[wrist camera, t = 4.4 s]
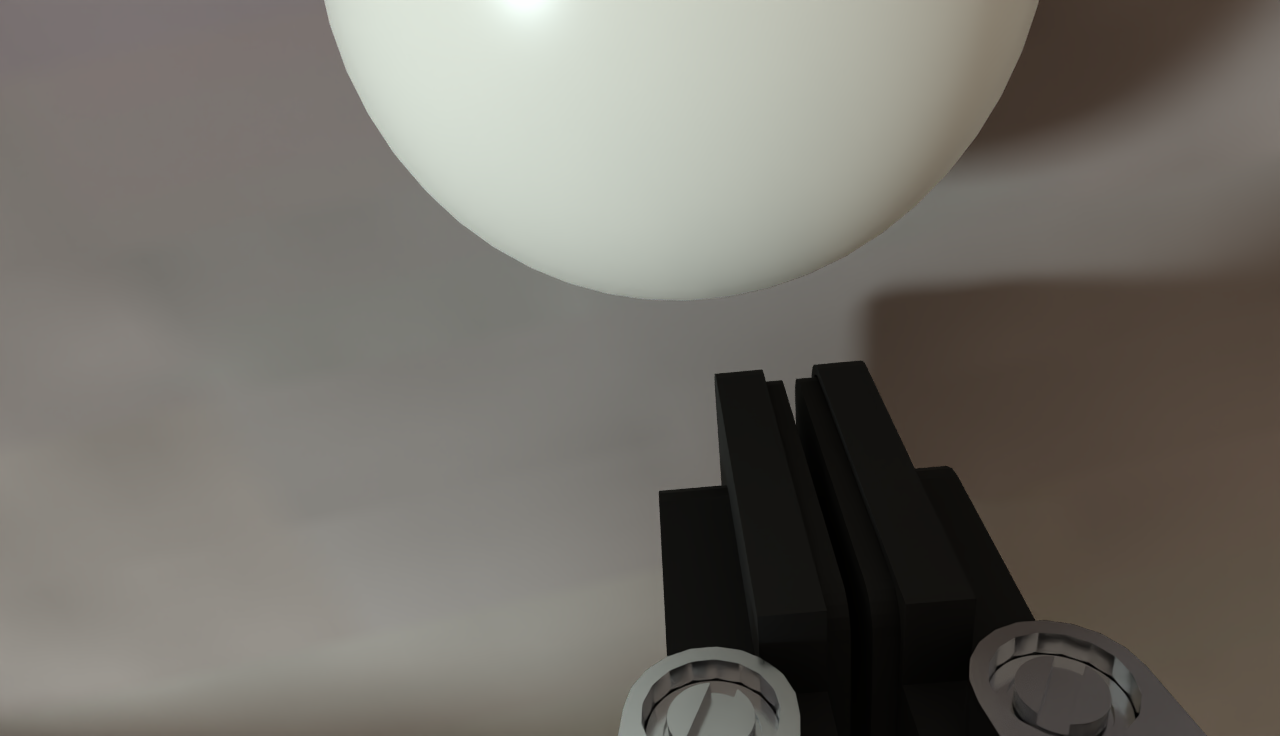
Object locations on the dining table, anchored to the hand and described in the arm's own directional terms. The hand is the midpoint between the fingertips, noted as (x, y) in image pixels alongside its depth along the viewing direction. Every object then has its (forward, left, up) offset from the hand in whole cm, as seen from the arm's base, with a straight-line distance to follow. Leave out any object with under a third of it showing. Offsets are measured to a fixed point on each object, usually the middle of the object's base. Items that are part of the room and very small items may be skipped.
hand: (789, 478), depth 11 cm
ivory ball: (+5, +3, +1) cm, 6 cm away
